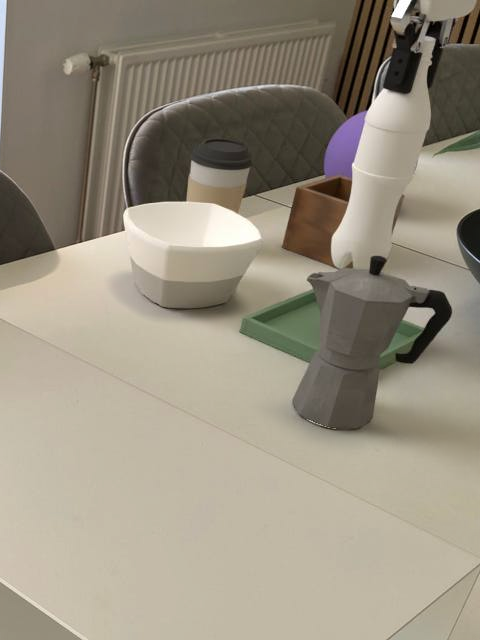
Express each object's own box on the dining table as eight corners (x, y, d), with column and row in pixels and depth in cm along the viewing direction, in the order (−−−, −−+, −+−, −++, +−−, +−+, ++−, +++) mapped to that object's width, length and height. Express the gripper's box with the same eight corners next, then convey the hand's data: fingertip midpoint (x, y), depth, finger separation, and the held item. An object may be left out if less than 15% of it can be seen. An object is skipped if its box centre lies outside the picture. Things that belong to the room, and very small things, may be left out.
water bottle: (316, 267, 124) (379, 36, 107) (337, 251, 128) (399, 27, 112) (372, 282, 121) (445, 48, 104) (391, 265, 125) (464, 38, 109)
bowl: (97, 271, 143) (106, 203, 137) (207, 263, 148) (220, 197, 142) (148, 323, 131) (160, 251, 125) (266, 313, 136) (283, 243, 129)
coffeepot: (268, 416, 114) (310, 259, 102) (280, 381, 120) (321, 230, 108) (406, 447, 110) (466, 289, 98) (411, 410, 117) (468, 257, 105)
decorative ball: (411, 203, 175) (441, 110, 165) (389, 227, 165) (419, 129, 155) (328, 185, 180) (353, 93, 170) (302, 206, 170) (326, 110, 160)
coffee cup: (187, 258, 149) (206, 151, 139) (167, 236, 156) (184, 132, 146) (243, 257, 151) (266, 151, 141) (221, 235, 157) (242, 132, 147)
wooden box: (385, 254, 155) (404, 194, 149) (345, 271, 149) (363, 209, 143) (322, 232, 161) (338, 173, 155) (281, 247, 155) (296, 186, 149)
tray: (427, 345, 131) (432, 330, 129) (354, 382, 121) (359, 367, 120) (314, 300, 140) (318, 286, 139) (239, 331, 131) (242, 317, 129)
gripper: (461, -111, 92) (398, 106, 105) (540, -113, 101) (473, 87, 114) (390, -120, 96) (337, 90, 109) (472, -122, 105) (414, 72, 117)
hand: (407, 86), depth 111 cm, fingers closed on water bottle, 3 cm apart
